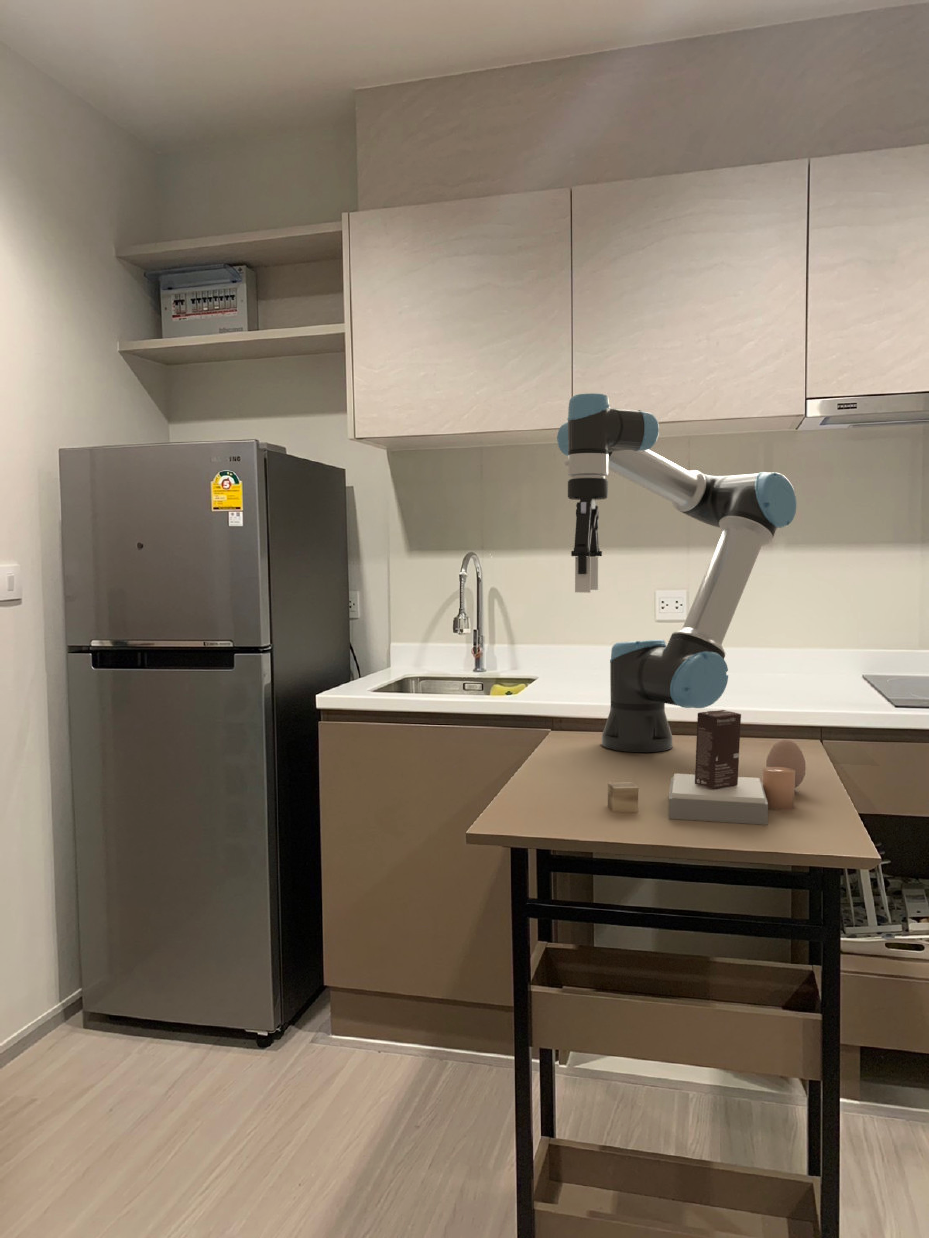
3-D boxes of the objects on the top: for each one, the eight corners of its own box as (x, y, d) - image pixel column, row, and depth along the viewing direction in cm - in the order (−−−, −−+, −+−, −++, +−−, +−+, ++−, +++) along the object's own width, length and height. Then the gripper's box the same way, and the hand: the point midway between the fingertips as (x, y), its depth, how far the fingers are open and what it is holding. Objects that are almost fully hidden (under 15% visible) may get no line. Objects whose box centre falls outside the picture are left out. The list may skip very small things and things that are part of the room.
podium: (671, 795, 167) (671, 772, 167) (761, 800, 163) (762, 777, 163) (668, 818, 152) (668, 793, 152) (767, 824, 149) (768, 799, 149)
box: (714, 790, 154) (715, 716, 153) (693, 785, 158) (695, 712, 157) (740, 786, 157) (742, 712, 156) (720, 780, 161) (721, 709, 160)
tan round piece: (761, 801, 163) (762, 766, 163) (792, 802, 162) (793, 767, 162) (763, 808, 159) (764, 772, 158) (795, 810, 157) (796, 774, 157)
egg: (764, 793, 169) (765, 741, 168) (767, 784, 175) (768, 734, 174) (804, 796, 166) (805, 744, 166) (805, 787, 172) (807, 737, 172)
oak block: (607, 806, 160) (607, 782, 160) (631, 805, 161) (631, 781, 160) (613, 812, 156) (614, 788, 156) (637, 811, 157) (638, 787, 156)
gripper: (576, 483, 194) (575, 588, 196) (558, 473, 170) (557, 593, 171) (613, 482, 192) (612, 588, 194) (601, 472, 168) (600, 593, 170)
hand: (586, 591), depth 183 cm, fingers open, 13 cm apart
